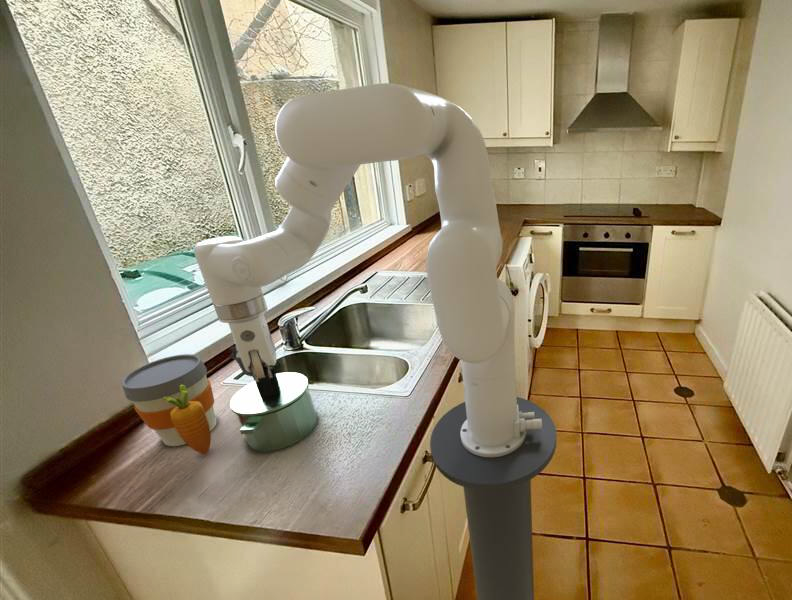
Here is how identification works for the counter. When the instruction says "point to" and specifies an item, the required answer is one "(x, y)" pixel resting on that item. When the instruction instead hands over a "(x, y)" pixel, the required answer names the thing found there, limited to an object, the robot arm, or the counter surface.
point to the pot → (280, 425)
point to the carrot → (190, 422)
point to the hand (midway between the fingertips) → (270, 390)
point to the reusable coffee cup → (168, 392)
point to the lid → (253, 404)
